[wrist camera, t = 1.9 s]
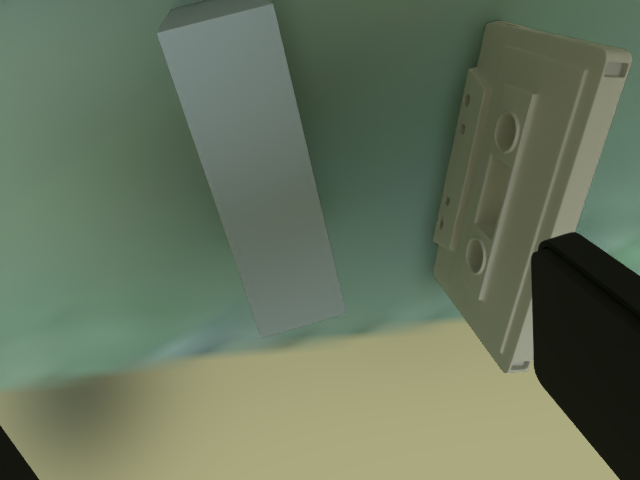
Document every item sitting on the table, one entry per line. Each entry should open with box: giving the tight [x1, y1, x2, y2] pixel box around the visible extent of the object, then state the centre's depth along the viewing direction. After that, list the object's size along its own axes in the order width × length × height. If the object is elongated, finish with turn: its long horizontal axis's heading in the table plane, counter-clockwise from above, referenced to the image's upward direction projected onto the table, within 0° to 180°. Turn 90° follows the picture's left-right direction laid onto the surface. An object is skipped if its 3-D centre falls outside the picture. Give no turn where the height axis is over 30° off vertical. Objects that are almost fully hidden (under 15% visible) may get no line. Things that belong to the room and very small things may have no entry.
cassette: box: [433, 21, 632, 373], centre depth 21 cm, size 12×2×8 cm, turn 175°
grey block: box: [157, 0, 346, 338], centre depth 19 cm, size 3×10×7 cm, turn 12°
